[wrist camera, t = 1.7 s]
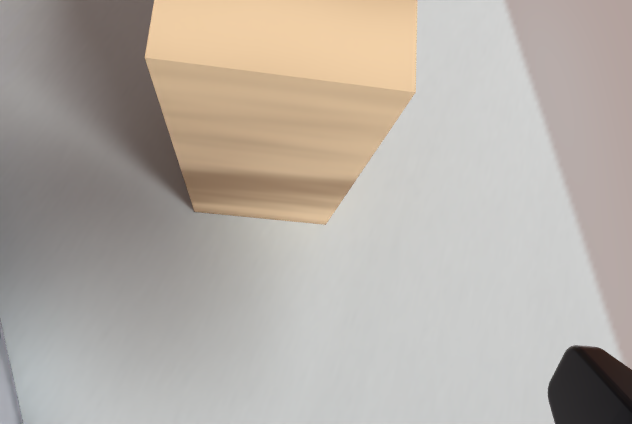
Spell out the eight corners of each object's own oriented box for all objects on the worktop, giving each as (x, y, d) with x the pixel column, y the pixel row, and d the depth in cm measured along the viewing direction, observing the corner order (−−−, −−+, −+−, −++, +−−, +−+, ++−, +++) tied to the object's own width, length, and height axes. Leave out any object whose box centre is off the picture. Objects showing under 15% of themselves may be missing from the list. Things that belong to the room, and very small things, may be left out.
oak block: (325, 224, 21) (415, 92, 10) (194, 211, 20) (144, 57, 10) (333, 106, 22) (419, -120, 11) (210, 91, 21) (181, -162, 11)
